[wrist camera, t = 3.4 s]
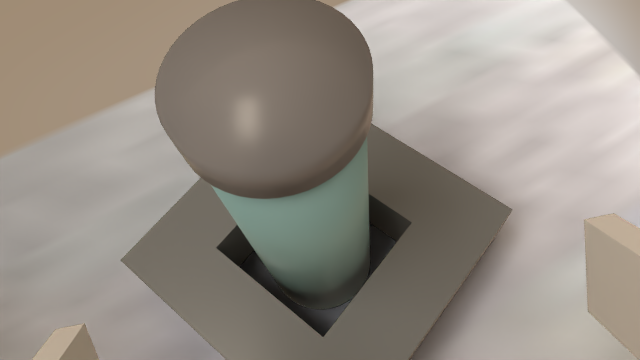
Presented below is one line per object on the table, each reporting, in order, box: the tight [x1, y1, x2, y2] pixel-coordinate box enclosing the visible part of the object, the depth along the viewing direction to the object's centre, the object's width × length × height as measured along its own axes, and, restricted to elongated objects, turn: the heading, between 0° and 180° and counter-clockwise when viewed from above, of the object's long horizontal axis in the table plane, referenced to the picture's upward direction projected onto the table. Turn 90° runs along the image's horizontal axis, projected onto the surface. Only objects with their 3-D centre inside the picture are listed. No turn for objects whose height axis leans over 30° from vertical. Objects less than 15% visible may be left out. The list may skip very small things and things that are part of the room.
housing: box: [121, 124, 512, 360], centre depth 26 cm, size 14×14×4 cm
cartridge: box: [155, 0, 373, 309], centre depth 21 cm, size 6×6×17 cm
